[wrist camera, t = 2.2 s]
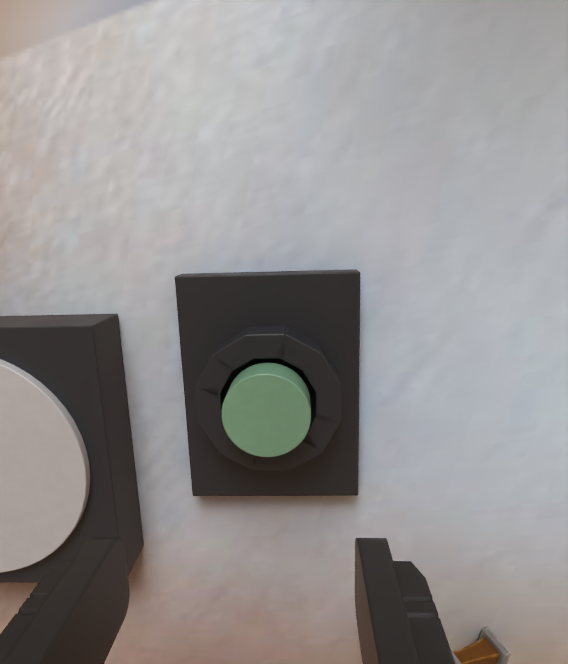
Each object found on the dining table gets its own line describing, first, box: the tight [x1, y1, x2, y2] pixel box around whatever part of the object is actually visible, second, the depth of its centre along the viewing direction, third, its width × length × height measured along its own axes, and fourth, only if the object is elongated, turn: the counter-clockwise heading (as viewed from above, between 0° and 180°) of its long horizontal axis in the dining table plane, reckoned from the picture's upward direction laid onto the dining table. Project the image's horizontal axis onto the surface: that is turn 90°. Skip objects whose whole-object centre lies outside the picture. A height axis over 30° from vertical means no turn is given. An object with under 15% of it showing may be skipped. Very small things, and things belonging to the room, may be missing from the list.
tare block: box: [175, 270, 360, 496], centre depth 23 cm, size 12×9×3 cm
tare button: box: [222, 363, 311, 457], centre depth 21 cm, size 4×4×2 cm
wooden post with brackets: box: [451, 627, 511, 664], centre depth 26 cm, size 2×8×4 cm, turn 78°
